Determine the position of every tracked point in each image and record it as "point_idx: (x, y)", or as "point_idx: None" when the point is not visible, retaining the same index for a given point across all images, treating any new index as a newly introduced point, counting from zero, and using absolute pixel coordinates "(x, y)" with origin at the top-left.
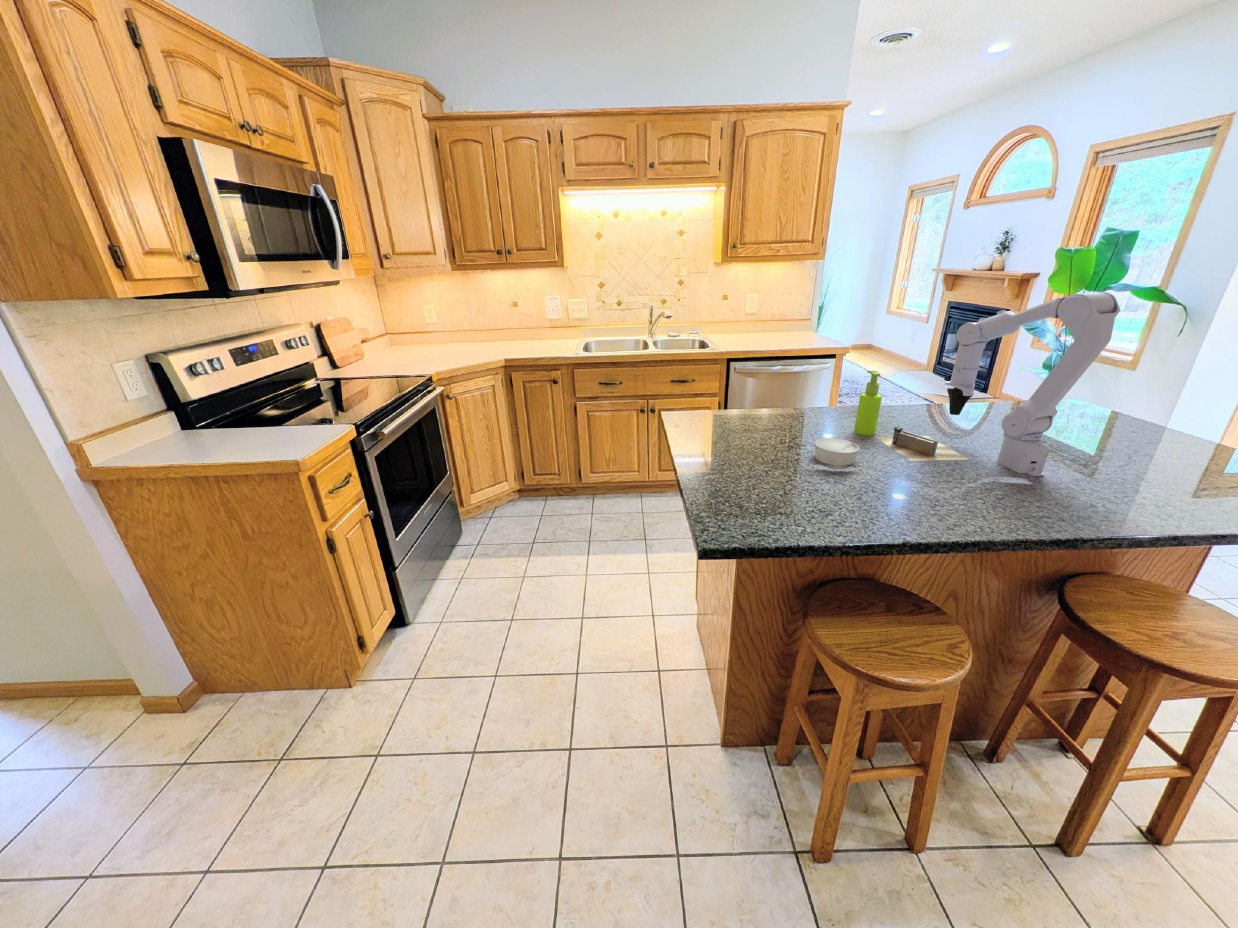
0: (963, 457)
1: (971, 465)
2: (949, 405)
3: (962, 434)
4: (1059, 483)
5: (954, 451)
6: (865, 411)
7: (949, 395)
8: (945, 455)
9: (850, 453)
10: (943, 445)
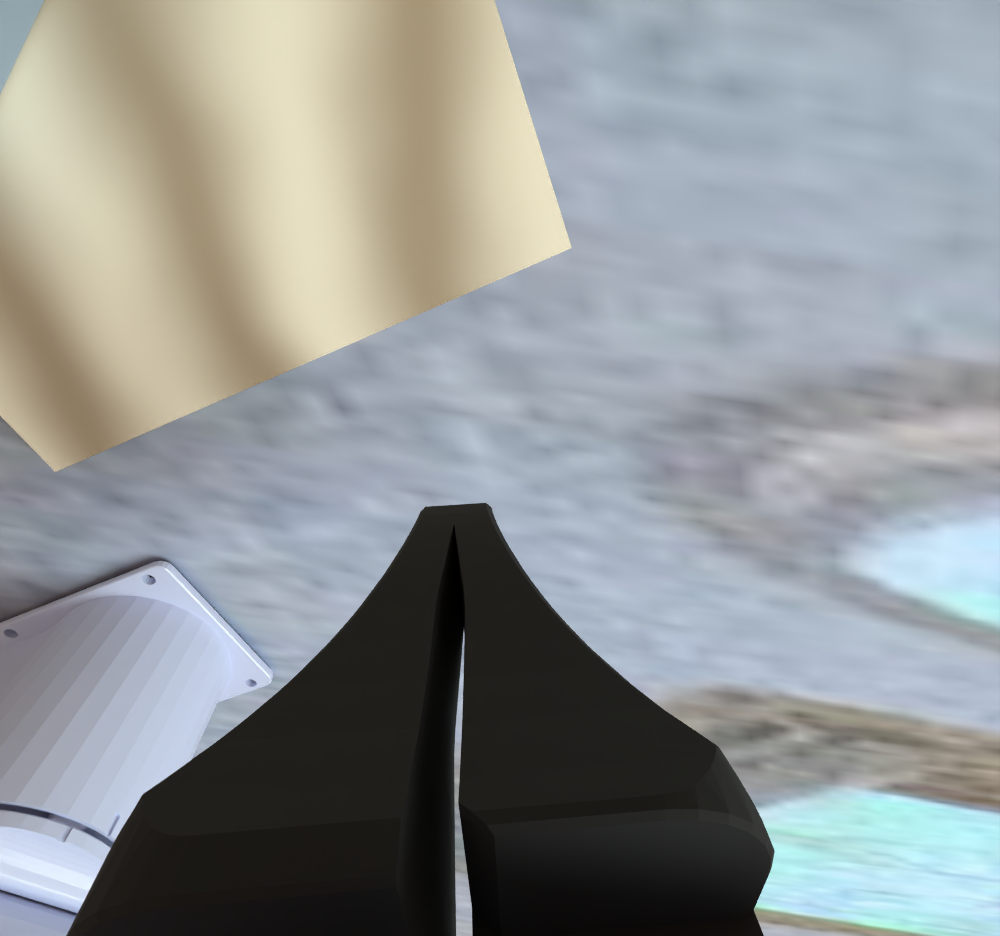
0: (73, 441)
1: (49, 467)
2: (513, 556)
3: (744, 518)
4: None
5: (193, 403)
6: None
7: (518, 691)
8: (21, 316)
9: None
10: (318, 345)
